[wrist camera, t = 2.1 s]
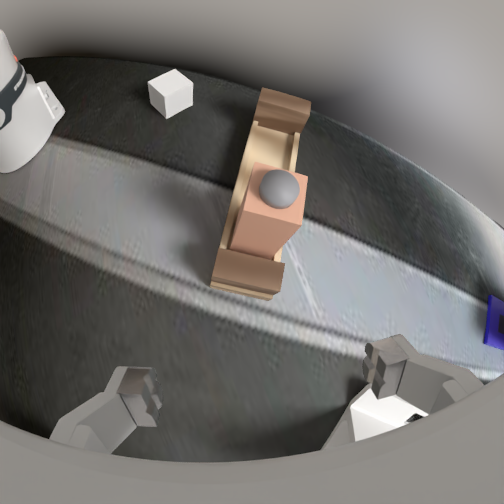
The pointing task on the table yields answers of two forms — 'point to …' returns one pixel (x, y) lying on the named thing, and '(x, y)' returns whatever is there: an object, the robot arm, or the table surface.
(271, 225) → the pink capped carton
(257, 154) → the track
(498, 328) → the stapler
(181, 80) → the white cube
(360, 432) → the tablet stand
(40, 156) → the table surface
